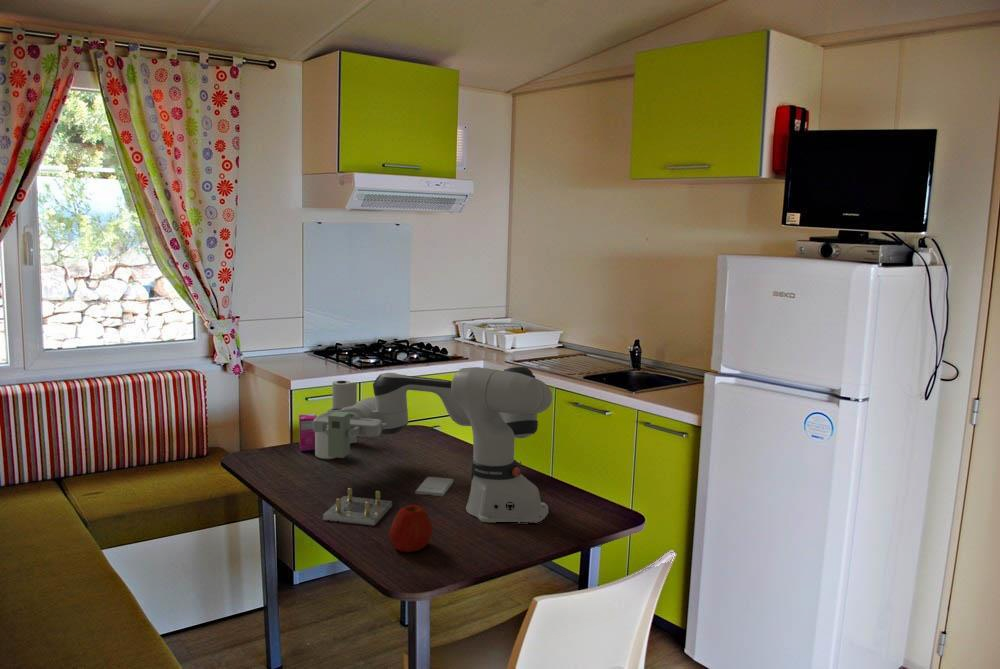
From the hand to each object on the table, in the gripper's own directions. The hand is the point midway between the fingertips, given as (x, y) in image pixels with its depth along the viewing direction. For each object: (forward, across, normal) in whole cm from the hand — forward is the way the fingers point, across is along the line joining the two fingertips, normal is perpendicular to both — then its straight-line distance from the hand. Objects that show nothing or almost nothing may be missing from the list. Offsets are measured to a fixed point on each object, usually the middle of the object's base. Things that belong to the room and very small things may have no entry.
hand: (337, 433), depth 232 cm
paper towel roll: (-43, +16, -17) cm, 49 cm away
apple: (+32, -32, -17) cm, 48 cm away
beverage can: (-28, +15, -17) cm, 36 cm away
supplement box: (-33, +24, -17) cm, 44 cm away
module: (-1, 0, -7) cm, 7 cm away
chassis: (+15, -12, -17) cm, 26 cm away
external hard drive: (-9, -26, -18) cm, 33 cm away
